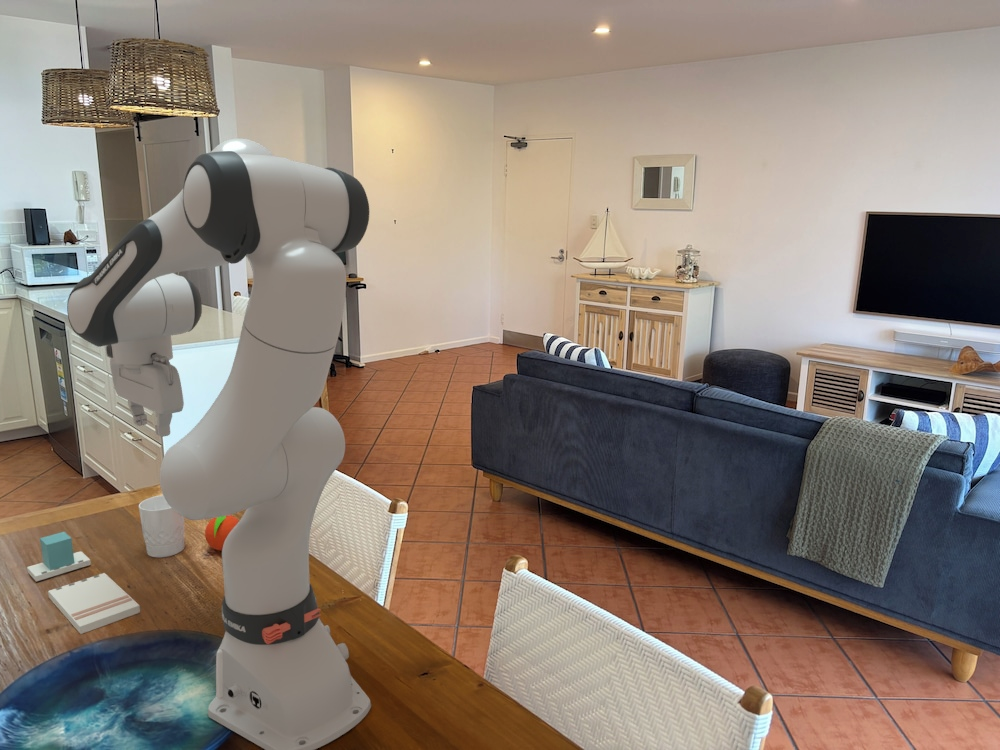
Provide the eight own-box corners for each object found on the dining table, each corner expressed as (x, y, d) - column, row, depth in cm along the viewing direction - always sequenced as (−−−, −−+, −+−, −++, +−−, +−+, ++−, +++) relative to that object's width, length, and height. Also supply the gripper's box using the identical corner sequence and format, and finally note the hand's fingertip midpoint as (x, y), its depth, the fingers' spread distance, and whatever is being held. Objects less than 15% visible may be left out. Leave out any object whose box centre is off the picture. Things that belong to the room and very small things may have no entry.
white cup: (195, 542, 147) (191, 495, 145) (174, 560, 140) (169, 511, 137) (157, 540, 148) (153, 493, 146) (135, 558, 140) (129, 509, 138)
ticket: (140, 612, 122) (139, 604, 121) (80, 634, 115) (79, 626, 115) (105, 579, 132) (104, 572, 132) (49, 597, 126) (48, 590, 125)
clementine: (234, 559, 140) (232, 524, 139) (198, 559, 140) (195, 524, 139) (248, 541, 148) (246, 508, 146) (214, 540, 148) (211, 507, 146)
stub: (90, 564, 137) (87, 534, 136) (36, 581, 131) (31, 550, 129) (81, 555, 140) (78, 526, 139) (27, 572, 134) (23, 541, 133)
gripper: (189, 355, 118) (197, 438, 120) (138, 341, 131) (146, 415, 134) (149, 360, 113) (158, 446, 116) (101, 345, 127) (110, 422, 130)
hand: (151, 430), depth 125 cm, fingers open, 8 cm apart
